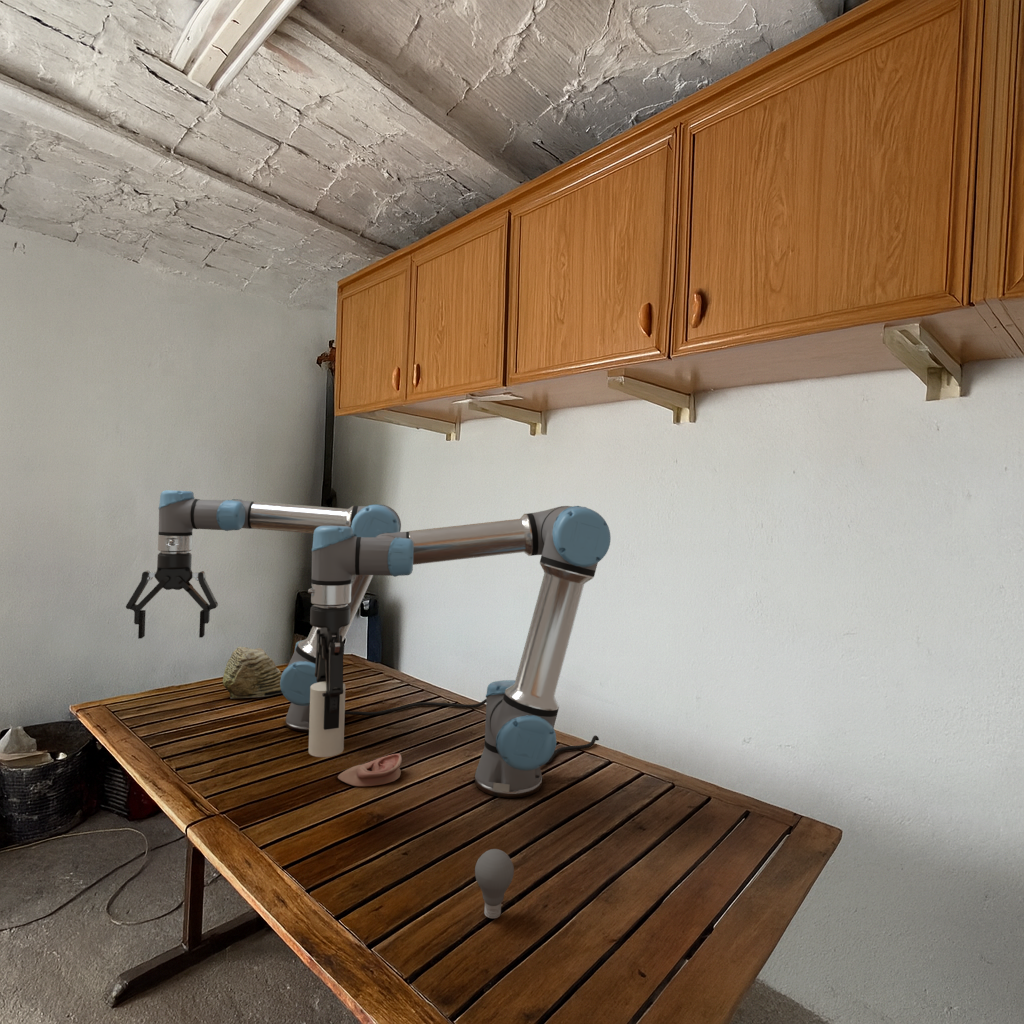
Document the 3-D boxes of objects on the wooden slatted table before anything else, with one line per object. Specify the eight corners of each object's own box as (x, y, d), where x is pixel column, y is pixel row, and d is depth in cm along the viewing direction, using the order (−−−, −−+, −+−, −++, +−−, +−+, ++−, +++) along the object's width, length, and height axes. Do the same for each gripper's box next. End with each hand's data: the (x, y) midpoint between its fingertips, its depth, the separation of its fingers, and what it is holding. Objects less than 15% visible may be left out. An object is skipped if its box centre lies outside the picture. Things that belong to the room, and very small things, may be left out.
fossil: (218, 695, 195) (220, 647, 195) (278, 685, 208) (279, 640, 207) (228, 703, 189) (230, 653, 188) (289, 692, 201) (290, 645, 201)
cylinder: (344, 755, 122) (346, 689, 122) (308, 758, 120) (310, 691, 120) (342, 742, 128) (344, 680, 128) (308, 745, 126) (310, 682, 126)
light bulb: (472, 903, 100) (475, 841, 100) (510, 903, 101) (513, 841, 101) (473, 929, 94) (476, 863, 94) (513, 928, 95) (516, 862, 95)
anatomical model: (331, 765, 140) (354, 745, 151) (331, 782, 140) (354, 762, 151) (388, 772, 137) (407, 752, 148) (387, 791, 137) (406, 769, 148)
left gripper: (113, 552, 151) (110, 641, 151) (226, 554, 158) (223, 639, 158) (122, 549, 158) (120, 634, 158) (231, 551, 165) (228, 632, 165)
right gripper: (302, 597, 131) (298, 708, 131) (321, 614, 113) (317, 742, 114) (338, 596, 134) (335, 704, 135) (362, 612, 117) (358, 736, 117)
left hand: (172, 637), depth 158 cm, fingers open, 13 cm apart
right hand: (327, 721), depth 124 cm, fingers closed on cylinder, 7 cm apart
